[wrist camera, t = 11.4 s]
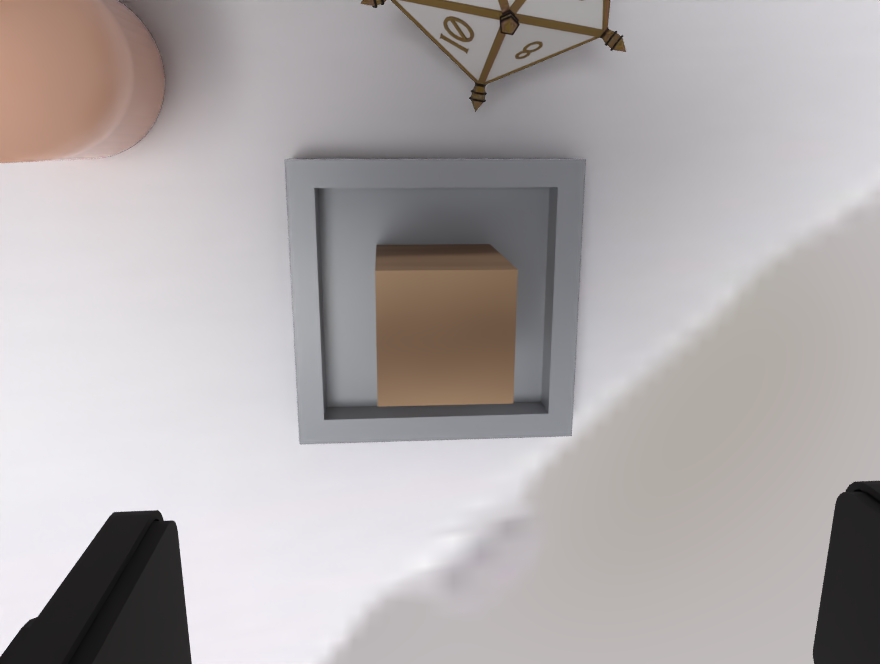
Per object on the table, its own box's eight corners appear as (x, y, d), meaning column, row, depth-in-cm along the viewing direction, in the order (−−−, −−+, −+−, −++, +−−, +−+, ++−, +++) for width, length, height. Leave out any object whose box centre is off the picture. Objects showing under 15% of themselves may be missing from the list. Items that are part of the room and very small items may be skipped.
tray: (291, 158, 28) (284, 159, 26) (571, 158, 28) (585, 159, 27) (304, 425, 30) (299, 444, 29) (559, 417, 31) (571, 435, 29)
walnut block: (376, 244, 28) (375, 270, 22) (490, 244, 28) (517, 269, 23) (378, 354, 29) (377, 406, 24) (487, 352, 30) (513, 403, 24)
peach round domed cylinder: (-18, -16, 25) (-192, -86, 18) (156, -13, 26) (60, -81, 18) (8, 158, 27) (-142, 164, 19) (172, 158, 27) (90, 164, 20)
